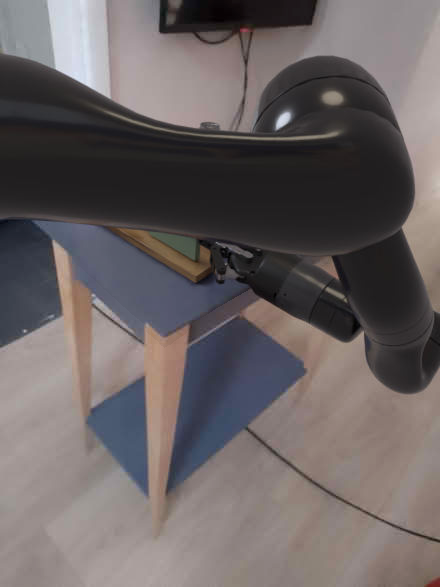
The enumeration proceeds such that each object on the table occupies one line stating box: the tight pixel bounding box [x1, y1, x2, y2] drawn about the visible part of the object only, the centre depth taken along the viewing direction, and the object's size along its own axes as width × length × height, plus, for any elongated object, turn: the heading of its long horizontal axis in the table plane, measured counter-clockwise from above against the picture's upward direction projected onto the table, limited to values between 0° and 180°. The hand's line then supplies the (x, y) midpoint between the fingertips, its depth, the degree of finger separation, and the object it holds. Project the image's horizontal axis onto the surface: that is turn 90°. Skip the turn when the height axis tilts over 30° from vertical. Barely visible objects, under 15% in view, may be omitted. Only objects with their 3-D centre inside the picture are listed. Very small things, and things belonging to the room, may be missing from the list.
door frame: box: [103, 226, 213, 284], centre depth 64 cm, size 8×25×19 cm, turn 51°
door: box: [149, 231, 200, 261], centre depth 62 cm, size 2×11×15 cm, turn 51°
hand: (200, 234), depth 61 cm, fingers closed
